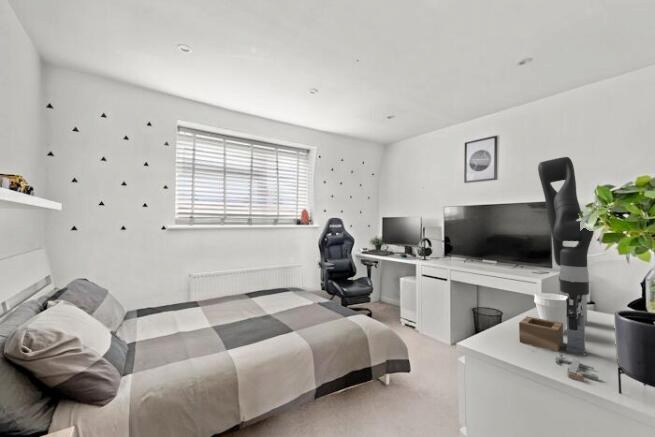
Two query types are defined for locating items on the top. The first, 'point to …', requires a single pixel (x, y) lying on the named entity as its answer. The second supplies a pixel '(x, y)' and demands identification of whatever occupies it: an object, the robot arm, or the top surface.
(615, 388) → the top surface
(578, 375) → the clamp
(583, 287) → the robot arm
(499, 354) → the top surface
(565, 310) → the cup
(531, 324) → the well block
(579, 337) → the grey upright bar
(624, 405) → the top surface
